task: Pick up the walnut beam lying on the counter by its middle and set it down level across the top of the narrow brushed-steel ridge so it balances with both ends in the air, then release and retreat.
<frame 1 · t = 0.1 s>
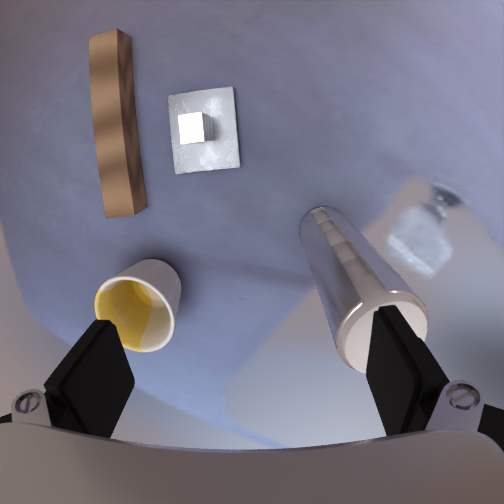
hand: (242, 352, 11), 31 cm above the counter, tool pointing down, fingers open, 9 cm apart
mug: (148, 282, 45), on the counter
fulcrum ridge: (205, 130, 37), on the counter
silver metal cylinder: (323, 230, 41), on the counter
walnut beam: (123, 121, 37), on the counter
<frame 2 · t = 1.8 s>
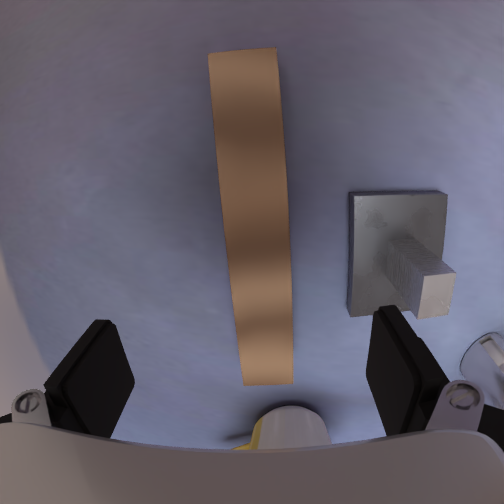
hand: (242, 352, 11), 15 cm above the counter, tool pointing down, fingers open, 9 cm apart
mug: (274, 421, 33), on the counter
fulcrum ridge: (394, 251, 25), on the counter
silver metal cylinder: (481, 354, 29), on the counter
walnut beam: (259, 222, 25), on the counter
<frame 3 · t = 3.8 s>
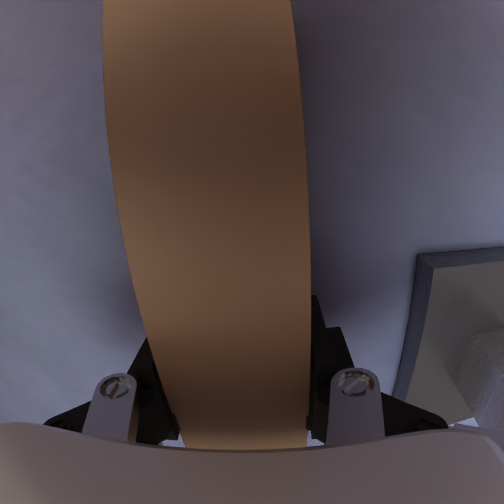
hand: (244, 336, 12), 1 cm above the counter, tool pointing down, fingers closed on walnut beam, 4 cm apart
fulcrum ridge: (468, 340, 13), on the counter
walnut beam: (246, 317, 13), on the counter, touching gripper
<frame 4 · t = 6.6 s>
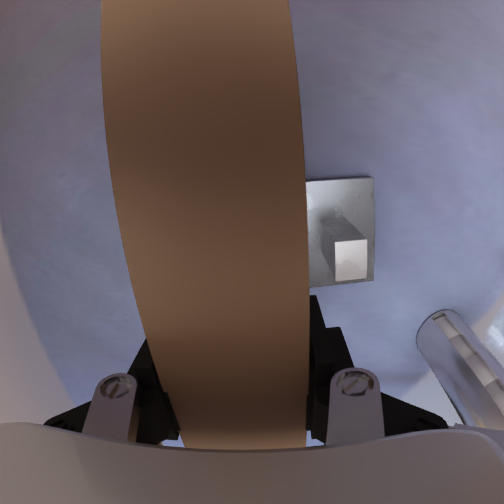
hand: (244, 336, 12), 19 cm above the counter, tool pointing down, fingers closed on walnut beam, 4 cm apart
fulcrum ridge: (330, 230, 30), on the counter
silver metal cylinder: (437, 331, 34), on the counter
walnut beam: (245, 318, 13), point 18 cm above the counter, touching gripper
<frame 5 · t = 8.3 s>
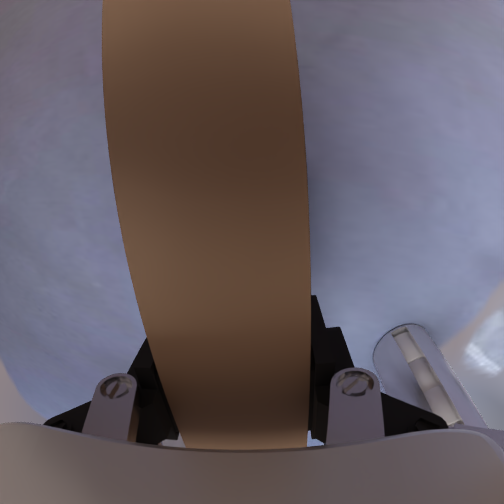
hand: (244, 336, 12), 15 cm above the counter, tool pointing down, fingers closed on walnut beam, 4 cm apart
silver metal cylinder: (400, 348, 30), on the counter
walnut beam: (246, 318, 13), point 13 cm above the counter, touching gripper
when the fingers open (10 cm above the counter, at t = 9.6 s): walnut beam stays where it is, resting on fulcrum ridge.
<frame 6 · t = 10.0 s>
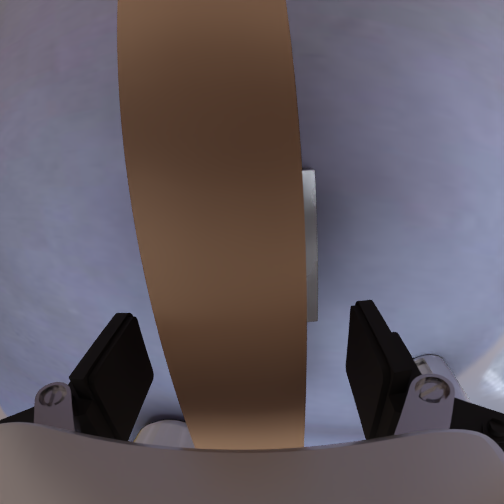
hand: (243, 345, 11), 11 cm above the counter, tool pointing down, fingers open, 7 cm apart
mug: (164, 434, 29), on the counter
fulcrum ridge: (253, 248, 21), on the counter
silver metal cylinder: (415, 380, 25), on the counter
walnut beam: (247, 308, 14), point 8 cm above the counter, touching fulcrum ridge
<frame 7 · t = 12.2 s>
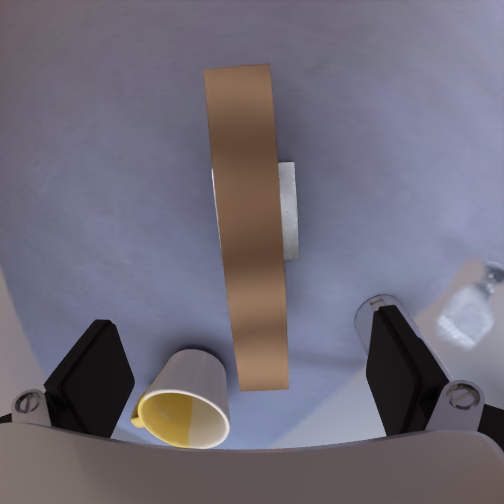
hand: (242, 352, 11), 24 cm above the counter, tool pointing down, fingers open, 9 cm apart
mug: (186, 366, 41), on the counter
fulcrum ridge: (257, 211, 33), on the counter
silver metal cylinder: (378, 317, 37), on the counter
walnut beam: (254, 232, 26), point 8 cm above the counter, touching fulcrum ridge
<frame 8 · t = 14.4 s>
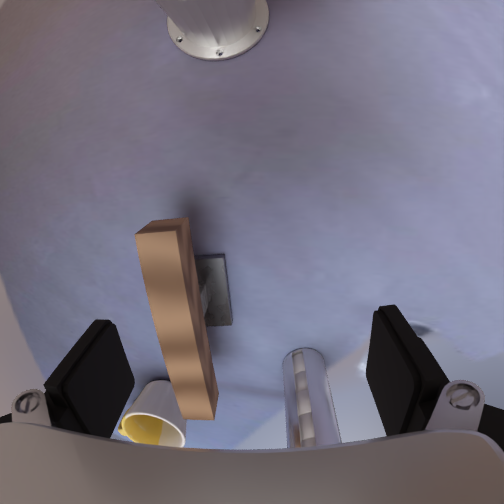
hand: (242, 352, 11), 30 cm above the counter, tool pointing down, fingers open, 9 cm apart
mug: (159, 391, 51), on the counter
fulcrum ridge: (200, 289, 44), on the counter
silver metal cylinder: (303, 363, 48), on the counter
walnut beam: (187, 320, 36), point 8 cm above the counter, touching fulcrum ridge
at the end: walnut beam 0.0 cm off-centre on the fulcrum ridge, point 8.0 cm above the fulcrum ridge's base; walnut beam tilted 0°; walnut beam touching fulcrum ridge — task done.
